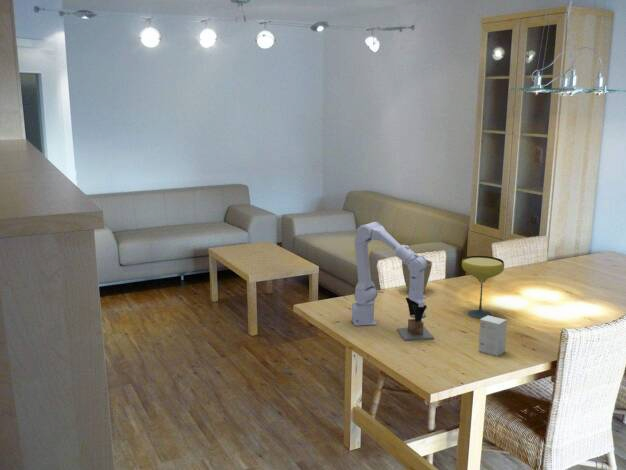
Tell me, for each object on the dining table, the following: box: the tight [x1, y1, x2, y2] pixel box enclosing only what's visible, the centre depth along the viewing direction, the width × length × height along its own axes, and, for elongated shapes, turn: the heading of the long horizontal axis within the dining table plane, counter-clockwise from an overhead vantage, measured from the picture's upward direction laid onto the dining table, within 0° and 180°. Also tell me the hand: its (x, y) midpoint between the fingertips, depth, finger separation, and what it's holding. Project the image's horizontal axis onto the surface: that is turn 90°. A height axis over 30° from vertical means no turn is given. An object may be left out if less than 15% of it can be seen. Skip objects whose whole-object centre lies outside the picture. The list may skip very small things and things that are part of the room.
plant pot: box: [401, 259, 433, 294], centre depth 309 cm, size 15×15×16 cm
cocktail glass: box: [461, 255, 505, 320], centre depth 277 cm, size 18×18×25 cm
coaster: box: [396, 326, 435, 342], centre depth 256 cm, size 12×12×1 cm
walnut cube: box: [407, 318, 425, 335], centre depth 256 cm, size 5×5×5 cm
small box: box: [478, 315, 507, 357], centre depth 238 cm, size 8×6×13 cm
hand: (415, 318), depth 255 cm, fingers open, 7 cm apart
